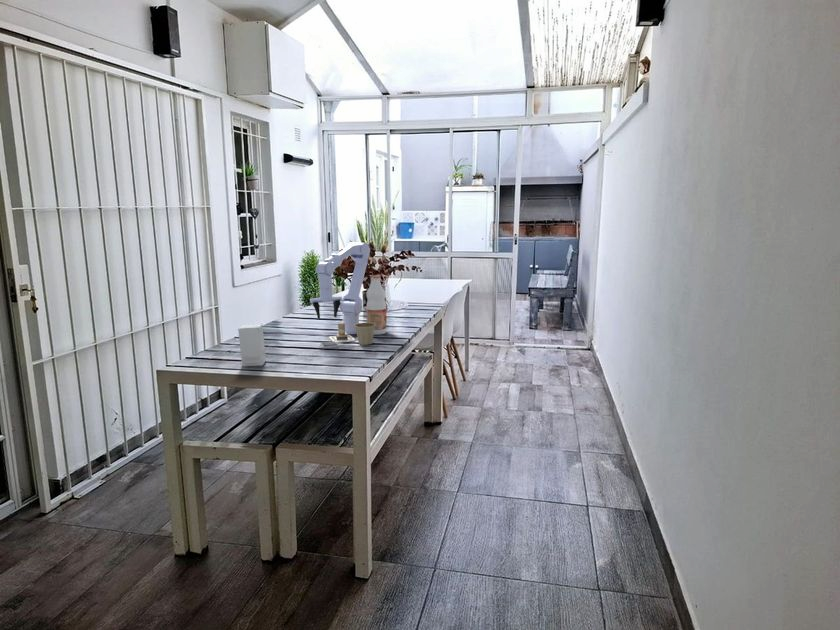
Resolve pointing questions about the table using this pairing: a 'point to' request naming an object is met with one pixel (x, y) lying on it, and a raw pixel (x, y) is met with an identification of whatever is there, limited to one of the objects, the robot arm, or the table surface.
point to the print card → (350, 339)
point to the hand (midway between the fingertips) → (327, 317)
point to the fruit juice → (376, 305)
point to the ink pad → (329, 344)
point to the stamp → (341, 332)
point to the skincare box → (252, 345)
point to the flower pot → (365, 333)
